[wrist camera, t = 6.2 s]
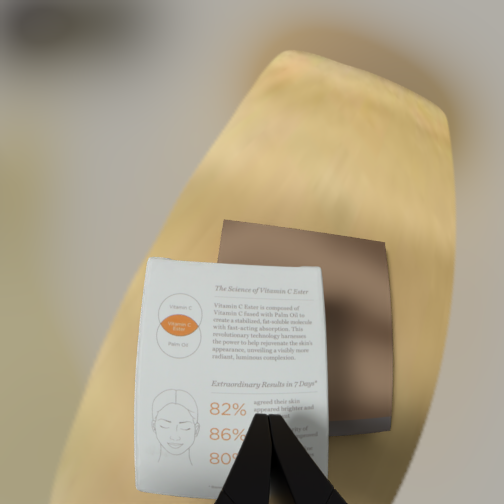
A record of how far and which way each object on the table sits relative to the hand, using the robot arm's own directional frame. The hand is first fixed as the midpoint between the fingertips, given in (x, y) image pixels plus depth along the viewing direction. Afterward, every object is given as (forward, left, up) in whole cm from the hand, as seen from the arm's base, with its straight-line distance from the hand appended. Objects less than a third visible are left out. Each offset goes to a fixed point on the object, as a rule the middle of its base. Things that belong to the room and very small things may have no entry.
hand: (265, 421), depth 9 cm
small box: (-4, +1, -5) cm, 6 cm away
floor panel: (+5, -4, -9) cm, 11 cm away
